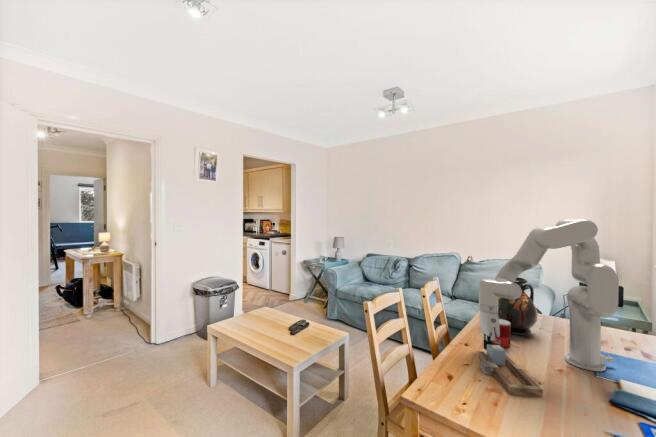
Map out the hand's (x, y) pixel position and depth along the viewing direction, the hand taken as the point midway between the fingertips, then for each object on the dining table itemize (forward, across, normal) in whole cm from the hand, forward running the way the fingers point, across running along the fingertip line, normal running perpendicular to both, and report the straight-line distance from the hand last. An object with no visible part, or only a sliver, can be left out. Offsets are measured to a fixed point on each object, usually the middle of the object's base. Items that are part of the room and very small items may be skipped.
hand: (488, 349), depth 123 cm
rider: (+2, -7, 0) cm, 8 cm away
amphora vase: (+2, +29, -24) cm, 38 cm away
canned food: (+2, +11, -10) cm, 15 cm away
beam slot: (+2, -16, +1) cm, 16 cm away
